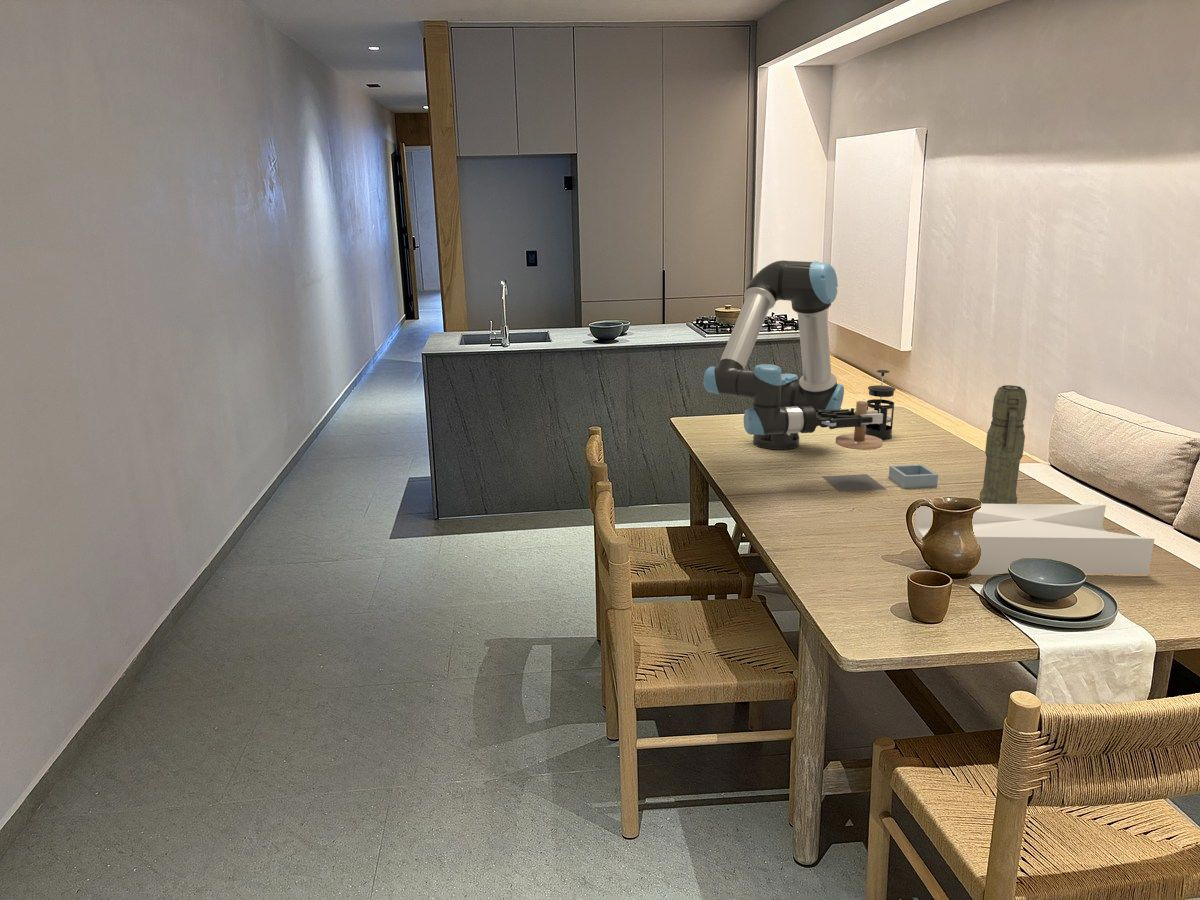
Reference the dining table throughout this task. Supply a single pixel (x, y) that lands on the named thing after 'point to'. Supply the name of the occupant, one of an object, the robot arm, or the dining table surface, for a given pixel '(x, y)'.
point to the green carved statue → (1004, 446)
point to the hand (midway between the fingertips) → (879, 416)
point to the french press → (881, 391)
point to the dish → (913, 476)
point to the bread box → (1050, 538)
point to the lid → (859, 434)
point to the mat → (853, 483)
